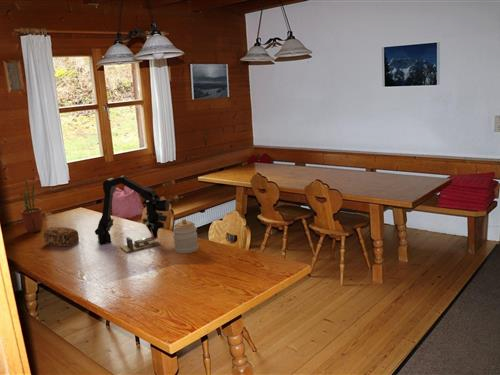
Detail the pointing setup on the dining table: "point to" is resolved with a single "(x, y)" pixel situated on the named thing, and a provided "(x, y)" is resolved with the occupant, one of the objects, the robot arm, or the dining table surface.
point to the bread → (60, 236)
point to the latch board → (138, 245)
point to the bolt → (146, 239)
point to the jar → (185, 237)
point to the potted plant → (31, 213)
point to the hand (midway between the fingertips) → (154, 236)
